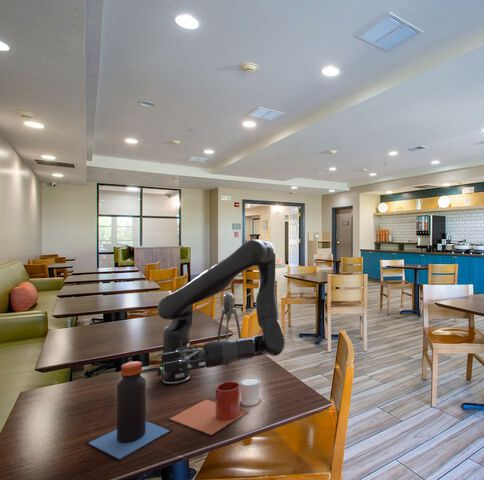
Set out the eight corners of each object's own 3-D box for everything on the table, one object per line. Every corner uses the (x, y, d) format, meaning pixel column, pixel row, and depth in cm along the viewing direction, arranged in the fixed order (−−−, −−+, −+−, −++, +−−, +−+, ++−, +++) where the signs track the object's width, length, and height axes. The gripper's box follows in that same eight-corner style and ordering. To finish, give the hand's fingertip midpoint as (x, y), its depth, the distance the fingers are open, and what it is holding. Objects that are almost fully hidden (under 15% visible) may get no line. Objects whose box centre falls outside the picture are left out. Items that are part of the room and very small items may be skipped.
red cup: (210, 417, 106) (210, 388, 106) (227, 407, 112) (228, 379, 112) (227, 423, 103) (227, 393, 102) (244, 412, 109) (244, 384, 109)
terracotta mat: (168, 419, 105) (168, 418, 105) (206, 400, 117) (206, 399, 117) (211, 435, 97) (211, 434, 97) (246, 413, 109) (246, 412, 109)
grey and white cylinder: (254, 408, 112) (255, 386, 112) (235, 405, 114) (235, 384, 113) (263, 398, 119) (264, 378, 119) (245, 396, 120) (245, 376, 120)
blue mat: (88, 443, 92) (88, 442, 92) (139, 419, 105) (139, 418, 105) (119, 459, 86) (119, 458, 86) (170, 431, 98) (170, 430, 98)
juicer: (242, 356, 159) (242, 291, 158) (226, 365, 148) (227, 295, 148) (224, 354, 162) (225, 290, 162) (208, 362, 152) (208, 294, 151)
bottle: (150, 433, 97) (151, 362, 96) (125, 446, 91) (125, 371, 90) (136, 427, 100) (136, 358, 100) (111, 439, 94) (111, 366, 94)
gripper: (216, 335, 114) (160, 342, 105) (226, 347, 102) (165, 357, 93) (216, 357, 114) (160, 367, 105) (226, 372, 102) (165, 384, 93)
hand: (162, 362), depth 99 cm, fingers open, 8 cm apart
